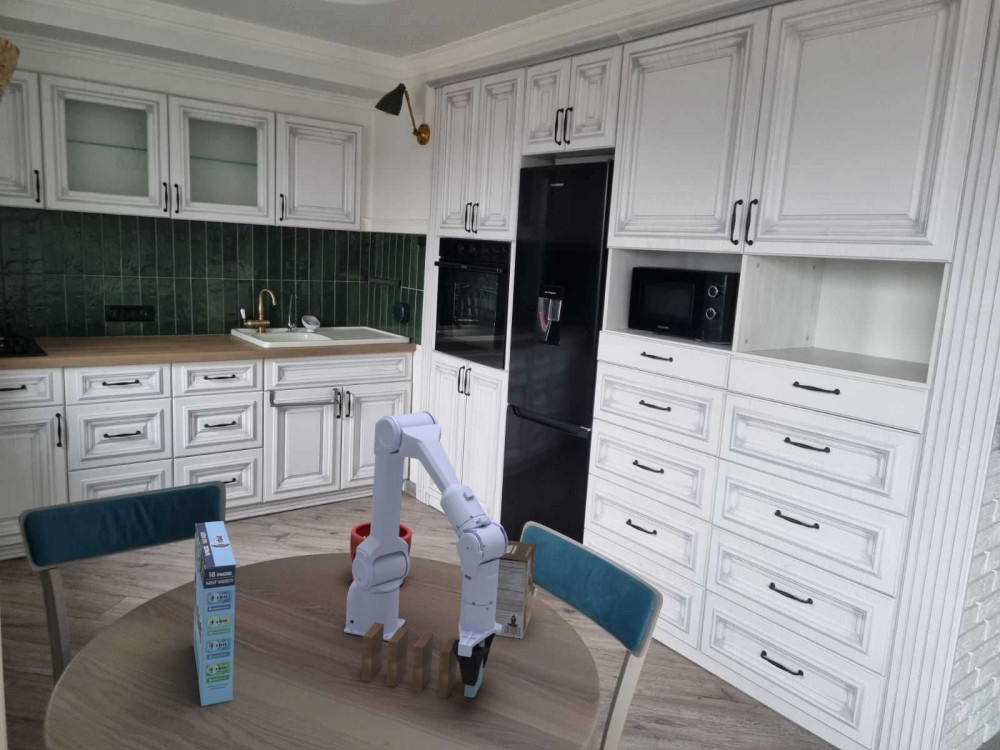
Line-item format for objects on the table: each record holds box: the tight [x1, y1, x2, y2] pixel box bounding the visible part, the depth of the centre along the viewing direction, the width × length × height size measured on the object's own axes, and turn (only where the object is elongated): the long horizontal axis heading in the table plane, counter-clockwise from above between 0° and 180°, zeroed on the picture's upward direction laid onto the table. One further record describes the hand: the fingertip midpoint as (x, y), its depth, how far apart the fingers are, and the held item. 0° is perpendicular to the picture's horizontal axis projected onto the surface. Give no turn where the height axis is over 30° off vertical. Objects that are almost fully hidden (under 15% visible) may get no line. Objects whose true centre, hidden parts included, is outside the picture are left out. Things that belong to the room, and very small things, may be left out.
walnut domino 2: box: [385, 626, 409, 688], centre depth 121 cm, size 2×5×8 cm, turn 166°
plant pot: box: [349, 521, 413, 582], centre depth 157 cm, size 13×13×12 cm
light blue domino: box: [464, 639, 485, 699], centre depth 118 cm, size 2×5×8 cm, turn 166°
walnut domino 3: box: [411, 631, 434, 694], centre depth 120 cm, size 2×5×8 cm, turn 166°
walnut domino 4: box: [437, 635, 459, 699], centre depth 119 cm, size 2×5×8 cm, turn 166°
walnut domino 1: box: [360, 622, 384, 683], centre depth 122 cm, size 2×5×8 cm, turn 166°
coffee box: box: [495, 540, 537, 640], centre depth 141 cm, size 9×6×16 cm
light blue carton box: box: [193, 520, 237, 708], centre depth 119 cm, size 20×5×23 cm, turn 26°
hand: (474, 675), depth 118 cm, fingers closed on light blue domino, 5 cm apart
